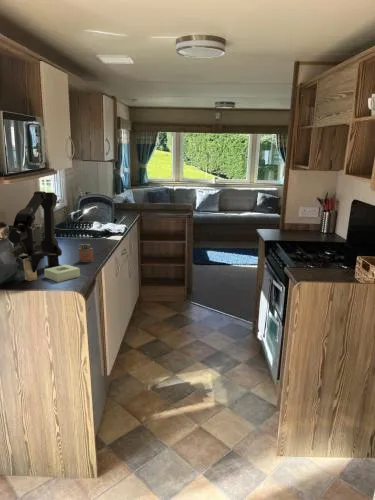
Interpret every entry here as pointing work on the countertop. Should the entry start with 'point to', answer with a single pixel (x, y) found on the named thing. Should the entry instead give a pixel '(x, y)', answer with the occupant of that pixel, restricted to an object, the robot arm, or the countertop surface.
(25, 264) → the peg
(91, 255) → the lighter
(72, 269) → the well holder
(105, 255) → the countertop surface
